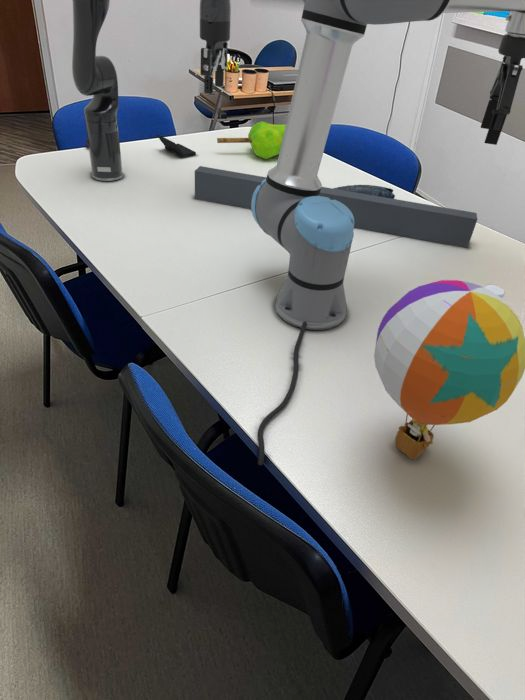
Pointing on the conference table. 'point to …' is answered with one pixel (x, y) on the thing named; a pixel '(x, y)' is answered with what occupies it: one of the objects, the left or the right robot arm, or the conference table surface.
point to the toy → (448, 357)
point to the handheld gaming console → (176, 148)
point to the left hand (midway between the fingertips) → (214, 89)
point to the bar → (352, 208)
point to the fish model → (369, 190)
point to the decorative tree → (262, 139)
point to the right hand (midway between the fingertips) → (488, 135)
